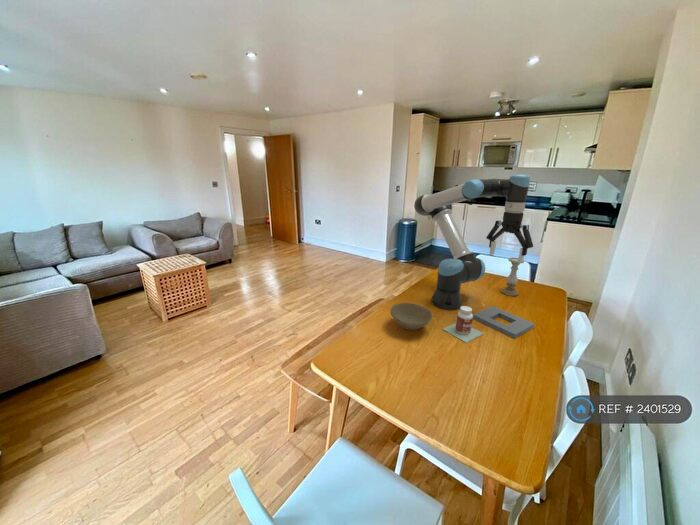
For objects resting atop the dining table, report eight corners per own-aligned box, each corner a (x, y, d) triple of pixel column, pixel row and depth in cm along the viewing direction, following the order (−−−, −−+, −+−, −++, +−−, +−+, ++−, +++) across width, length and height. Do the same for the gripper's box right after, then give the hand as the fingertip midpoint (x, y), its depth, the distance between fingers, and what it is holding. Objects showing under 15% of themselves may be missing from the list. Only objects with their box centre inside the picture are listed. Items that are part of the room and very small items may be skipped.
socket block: (472, 318, 133) (472, 314, 132) (491, 309, 141) (492, 305, 140) (514, 338, 117) (515, 334, 116) (533, 327, 125) (534, 323, 124)
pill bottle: (462, 336, 118) (465, 313, 114) (452, 328, 123) (455, 306, 120) (473, 333, 120) (477, 310, 117) (463, 326, 126) (466, 304, 122)
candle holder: (502, 288, 165) (508, 256, 159) (519, 292, 160) (526, 259, 154) (499, 293, 159) (506, 260, 152) (517, 297, 154) (524, 263, 147)
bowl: (438, 327, 126) (440, 311, 123) (417, 345, 113) (419, 327, 110) (403, 313, 138) (404, 298, 135) (381, 328, 125) (381, 312, 122)
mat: (442, 329, 124) (442, 328, 123) (459, 321, 130) (459, 321, 130) (465, 343, 114) (466, 342, 114) (483, 334, 120) (483, 333, 120)
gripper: (482, 209, 129) (476, 252, 136) (539, 216, 109) (528, 267, 116) (492, 207, 133) (485, 250, 140) (549, 214, 113) (538, 264, 119)
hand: (505, 258), depth 128 cm, fingers open, 13 cm apart
